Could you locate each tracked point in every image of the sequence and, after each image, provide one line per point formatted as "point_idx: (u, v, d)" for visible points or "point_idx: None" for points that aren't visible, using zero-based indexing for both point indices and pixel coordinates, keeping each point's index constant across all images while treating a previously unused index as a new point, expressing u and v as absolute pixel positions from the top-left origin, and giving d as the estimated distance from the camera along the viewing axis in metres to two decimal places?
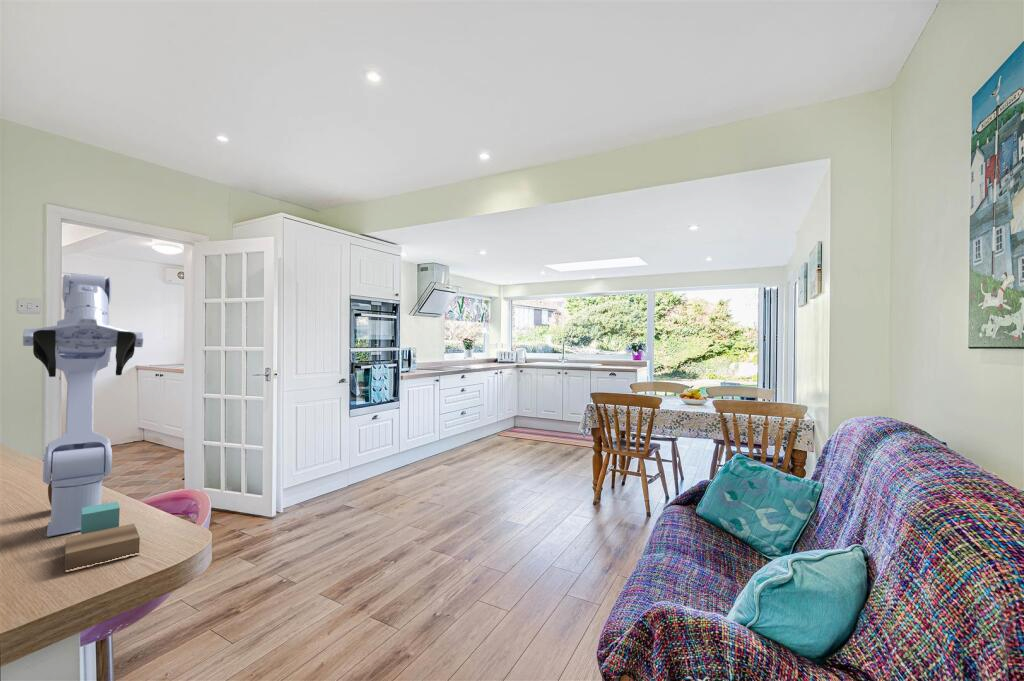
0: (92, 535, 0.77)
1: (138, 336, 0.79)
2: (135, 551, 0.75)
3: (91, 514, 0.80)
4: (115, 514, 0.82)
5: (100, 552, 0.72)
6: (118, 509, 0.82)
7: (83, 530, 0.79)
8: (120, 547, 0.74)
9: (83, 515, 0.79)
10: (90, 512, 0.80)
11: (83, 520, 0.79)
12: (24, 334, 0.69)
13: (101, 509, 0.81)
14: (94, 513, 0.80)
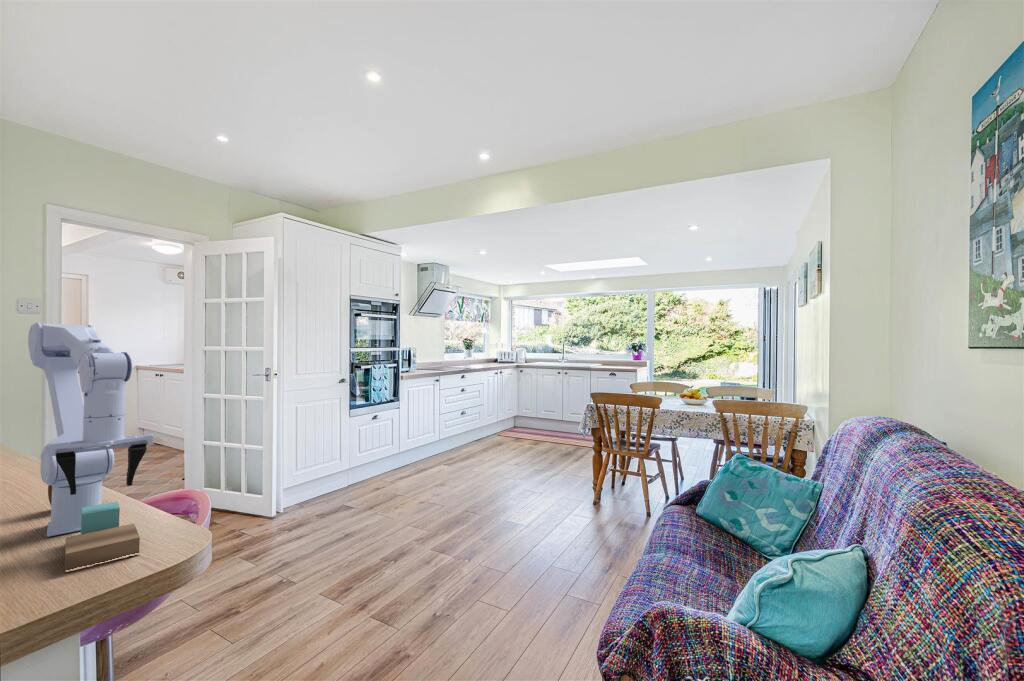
0: (92, 535, 0.77)
1: (149, 441, 0.86)
2: (135, 551, 0.75)
3: (91, 514, 0.80)
4: (115, 514, 0.82)
5: (100, 552, 0.72)
6: (118, 509, 0.82)
7: (83, 530, 0.79)
8: (120, 547, 0.74)
9: (83, 515, 0.79)
10: (90, 512, 0.80)
11: (83, 520, 0.79)
12: (48, 453, 0.77)
13: (101, 509, 0.81)
14: (94, 513, 0.80)
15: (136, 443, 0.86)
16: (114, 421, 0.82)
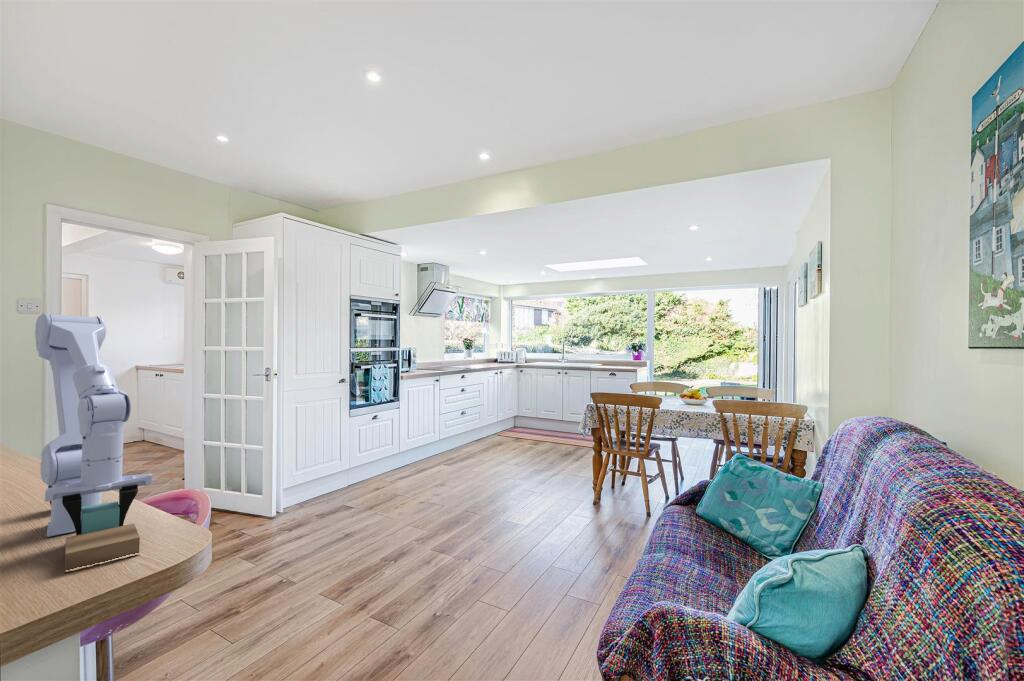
0: (92, 535, 0.77)
1: (147, 482, 0.86)
2: (135, 551, 0.75)
3: (91, 514, 0.80)
4: (116, 513, 0.82)
5: (100, 552, 0.72)
6: (118, 509, 0.82)
7: (83, 530, 0.79)
8: (120, 547, 0.74)
9: (83, 515, 0.79)
10: (90, 512, 0.80)
11: (83, 520, 0.79)
12: (46, 498, 0.77)
13: (101, 509, 0.81)
14: (94, 513, 0.80)
15: (134, 483, 0.85)
16: (112, 463, 0.82)
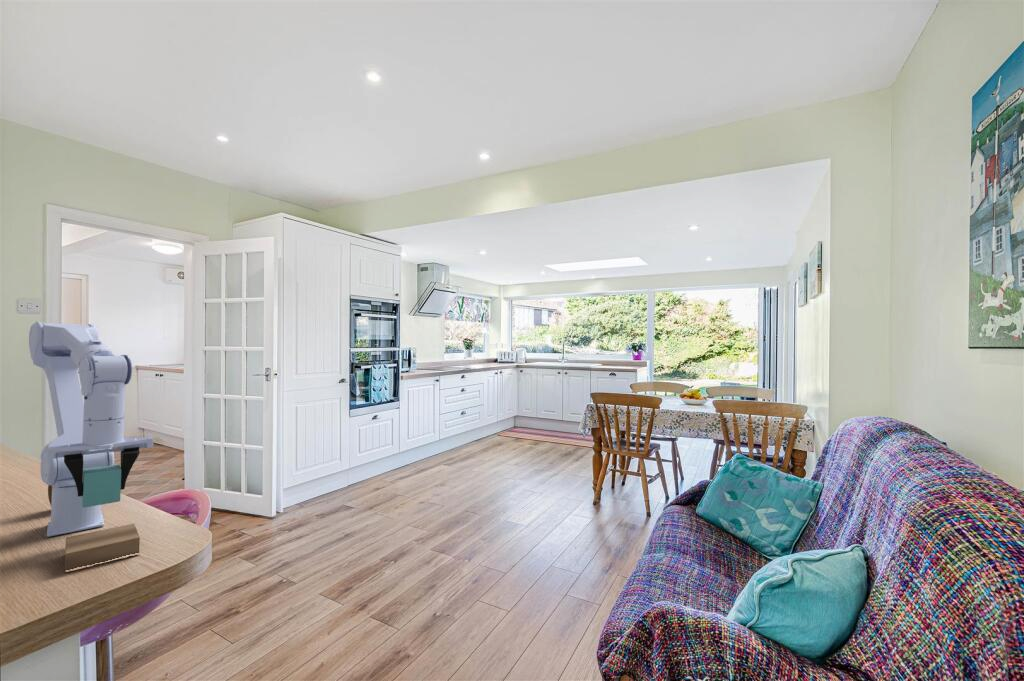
0: (92, 535, 0.77)
1: (149, 444, 0.86)
2: (135, 551, 0.75)
3: (93, 474, 0.80)
4: (117, 475, 0.82)
5: (100, 552, 0.72)
6: (120, 470, 0.82)
7: (85, 489, 0.79)
8: (120, 547, 0.74)
9: (85, 474, 0.79)
10: (92, 472, 0.80)
11: (85, 479, 0.79)
12: (47, 456, 0.77)
13: (103, 470, 0.81)
14: (96, 473, 0.80)
15: (136, 446, 0.86)
16: (114, 424, 0.82)
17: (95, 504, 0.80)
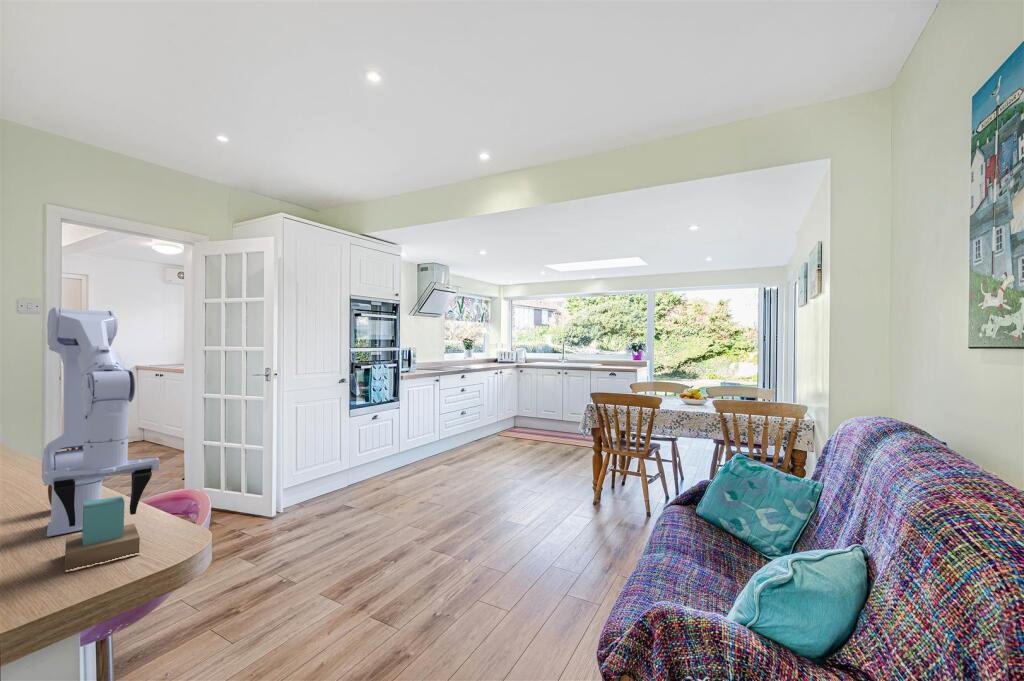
0: None
1: (154, 466, 0.80)
2: (135, 551, 0.75)
3: (94, 509, 0.73)
4: (120, 509, 0.76)
5: (100, 552, 0.72)
6: (123, 503, 0.76)
7: (85, 526, 0.73)
8: (120, 547, 0.74)
9: (85, 510, 0.73)
10: (93, 506, 0.74)
11: (85, 515, 0.73)
12: (45, 482, 0.70)
13: (104, 503, 0.75)
14: (97, 508, 0.74)
15: (140, 468, 0.79)
16: (117, 446, 0.76)
17: (96, 541, 0.73)
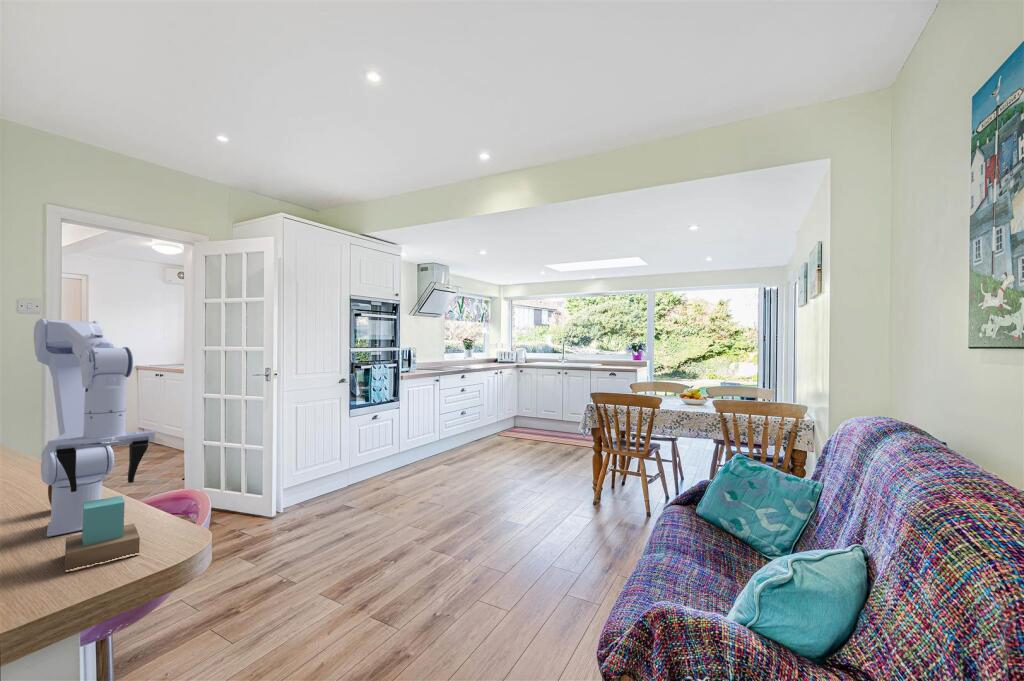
0: None
1: (151, 438, 0.85)
2: (135, 551, 0.75)
3: (94, 509, 0.73)
4: (120, 509, 0.76)
5: (100, 552, 0.72)
6: (123, 503, 0.76)
7: (85, 526, 0.73)
8: (120, 547, 0.74)
9: (85, 510, 0.73)
10: (93, 506, 0.74)
11: (85, 515, 0.73)
12: (48, 450, 0.75)
13: (104, 503, 0.75)
14: (97, 508, 0.74)
15: (137, 440, 0.84)
16: (115, 417, 0.80)
17: (96, 541, 0.73)
